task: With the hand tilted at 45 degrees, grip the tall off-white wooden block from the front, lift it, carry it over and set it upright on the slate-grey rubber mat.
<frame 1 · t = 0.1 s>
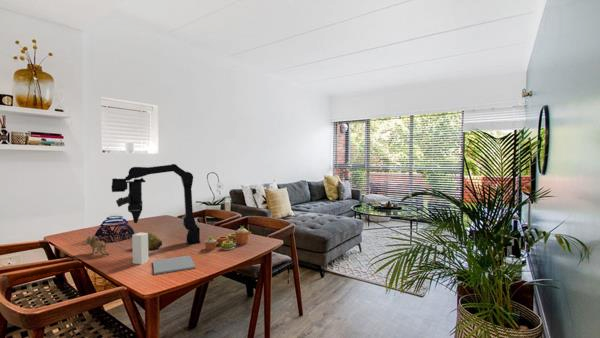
hand: (135, 221, 155), 15 cm above the table, tool pointing down, fingers open, 9 cm apart
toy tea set: (227, 246, 163), on the table
tall block: (140, 262, 137), on the table
rubber mat: (173, 265, 133), on the table
lion figurine: (97, 254, 147), on the table
decorative bowl: (114, 238, 176), on the table
potato: (149, 248, 158), on the table
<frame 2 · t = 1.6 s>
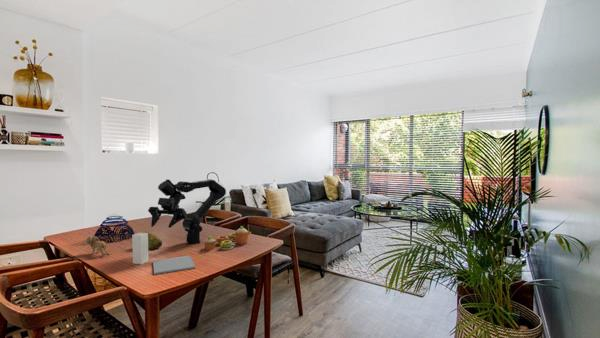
hand: (160, 226, 146), 14 cm above the table, tool tilted 45°, fingers open, 9 cm apart
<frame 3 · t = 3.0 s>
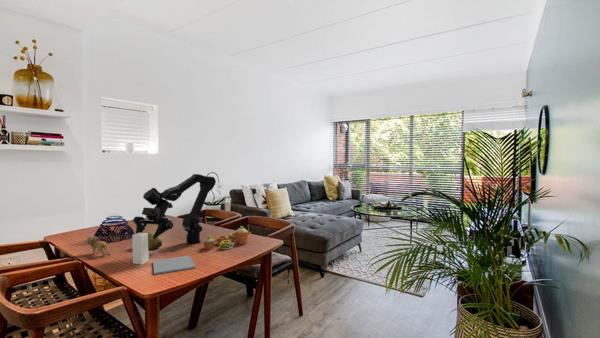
hand: (144, 238, 139), 10 cm above the table, tool tilted 45°, fingers open, 9 cm apart
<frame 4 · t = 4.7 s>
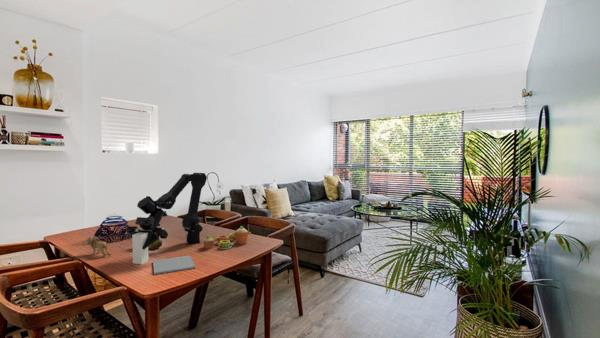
hand: (138, 248, 135), 7 cm above the table, tool tilted 45°, fingers closed on tall block, 4 cm apart
tall block: (140, 262, 137), on the table, touching gripper
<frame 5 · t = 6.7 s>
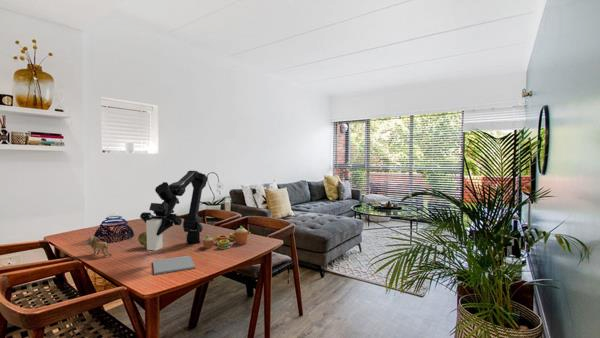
hand: (152, 234, 133), 13 cm above the table, tool tilted 45°, fingers closed on tall block, 4 cm apart
tall block: (154, 248, 135), point 7 cm above the table, touching gripper
when the fingers open (9 cm above the table, at t = 8.8 s): tall block drops 1 cm, resting on rubber mat.
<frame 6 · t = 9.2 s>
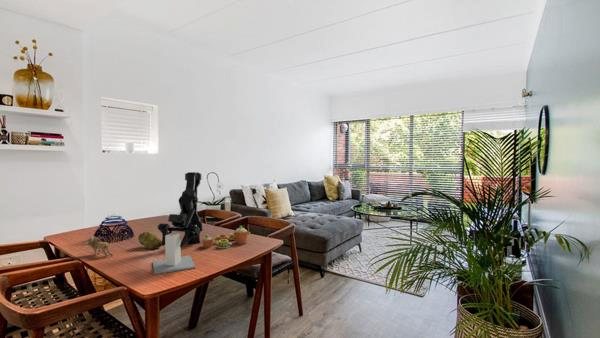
hand: (171, 246, 131), 9 cm above the table, tool tilted 45°, fingers open, 8 cm apart
tall block: (173, 263, 133), point 1 cm above the table, touching rubber mat
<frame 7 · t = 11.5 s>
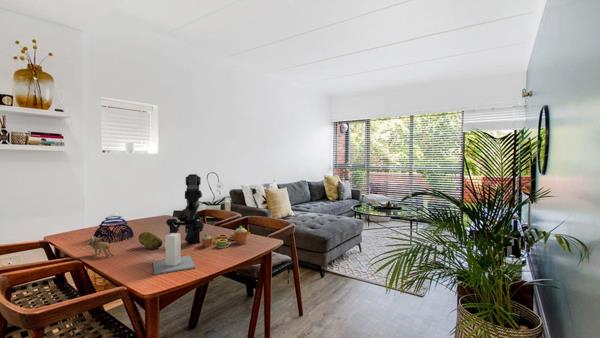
hand: (177, 240, 141), 9 cm above the table, tool tilted 40°, fingers open, 9 cm apart
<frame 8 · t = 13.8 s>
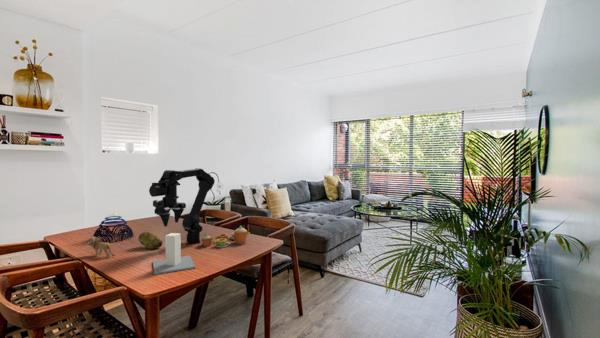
hand: (171, 224, 155), 13 cm above the table, tool pointing down, fingers open, 9 cm apart
at the end: tall block inside the target area on the rubber mat (0.1 cm from its centre), point 0.8 cm above the rubber mat's base; tall block tilted 0°; the gripper is holding nothing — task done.
